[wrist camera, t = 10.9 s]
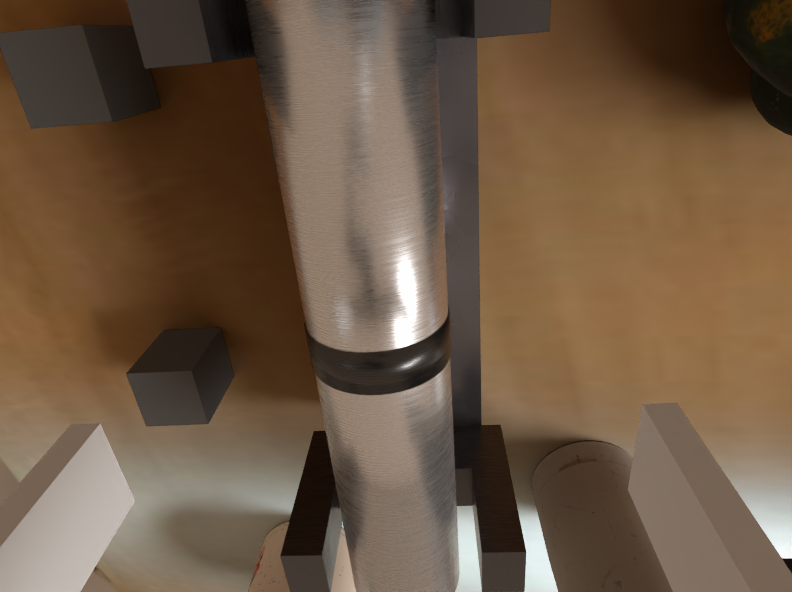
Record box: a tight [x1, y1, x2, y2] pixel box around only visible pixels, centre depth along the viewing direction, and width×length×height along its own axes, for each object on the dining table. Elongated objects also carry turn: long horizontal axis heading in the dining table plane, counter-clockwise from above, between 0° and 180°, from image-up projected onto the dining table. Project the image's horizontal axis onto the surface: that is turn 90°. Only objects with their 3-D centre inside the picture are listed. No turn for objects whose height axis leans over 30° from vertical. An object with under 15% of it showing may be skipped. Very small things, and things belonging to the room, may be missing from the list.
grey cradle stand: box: [126, 0, 551, 592], centre depth 24 cm, size 28×10×16 cm, turn 5°
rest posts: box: [0, 25, 234, 426], centre depth 29 cm, size 22×4×5 cm, turn 5°
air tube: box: [245, 0, 459, 592], centre depth 19 cm, size 26×5×5 cm, turn 5°
